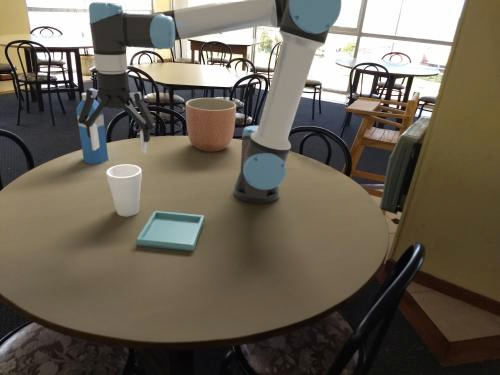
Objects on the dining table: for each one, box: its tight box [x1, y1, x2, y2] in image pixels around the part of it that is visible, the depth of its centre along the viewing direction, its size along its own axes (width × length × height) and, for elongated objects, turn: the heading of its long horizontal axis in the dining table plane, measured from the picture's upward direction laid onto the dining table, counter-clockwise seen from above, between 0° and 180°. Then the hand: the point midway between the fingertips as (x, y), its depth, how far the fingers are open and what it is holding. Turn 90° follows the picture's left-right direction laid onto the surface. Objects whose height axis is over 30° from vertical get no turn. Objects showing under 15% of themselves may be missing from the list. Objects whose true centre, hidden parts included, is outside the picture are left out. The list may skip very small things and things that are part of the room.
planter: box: [185, 97, 237, 153], centre depth 159 cm, size 21×21×19 cm
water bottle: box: [76, 92, 109, 165], centre depth 138 cm, size 9×9×25 cm
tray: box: [136, 210, 205, 252], centre depth 102 cm, size 15×15×2 cm
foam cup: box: [105, 164, 143, 217], centre depth 108 cm, size 10×9×13 cm
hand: (120, 150), depth 103 cm, fingers open, 13 cm apart
